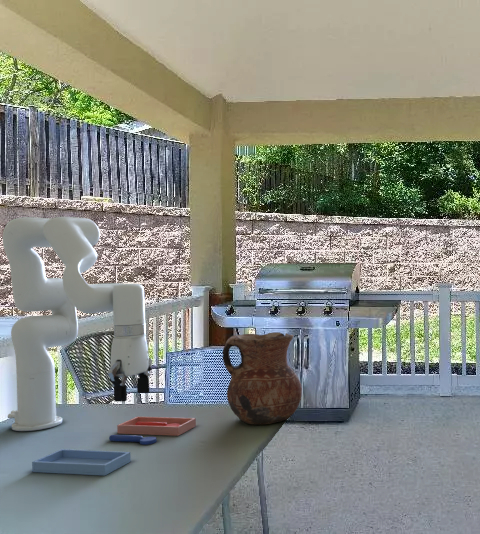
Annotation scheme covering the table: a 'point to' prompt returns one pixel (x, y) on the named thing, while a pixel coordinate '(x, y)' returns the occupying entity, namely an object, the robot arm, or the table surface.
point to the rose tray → (131, 428)
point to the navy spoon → (133, 439)
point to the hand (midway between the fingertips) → (132, 396)
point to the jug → (262, 379)
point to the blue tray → (81, 462)
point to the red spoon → (156, 424)
